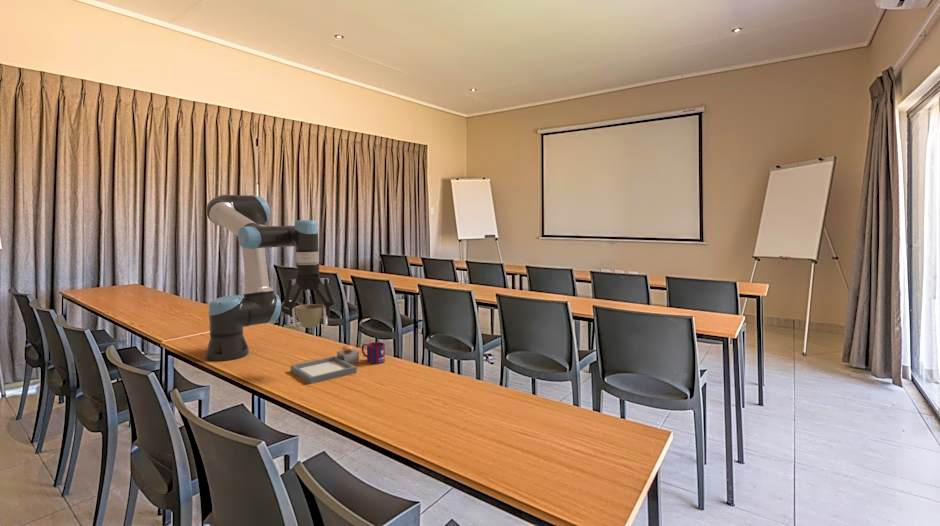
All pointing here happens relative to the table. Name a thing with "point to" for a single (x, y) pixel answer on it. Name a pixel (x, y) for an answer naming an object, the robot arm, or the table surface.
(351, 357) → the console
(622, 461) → the table surface
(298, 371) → the tray
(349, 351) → the button
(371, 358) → the cup
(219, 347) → the robot arm
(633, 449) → the table surface
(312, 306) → the flower pot
